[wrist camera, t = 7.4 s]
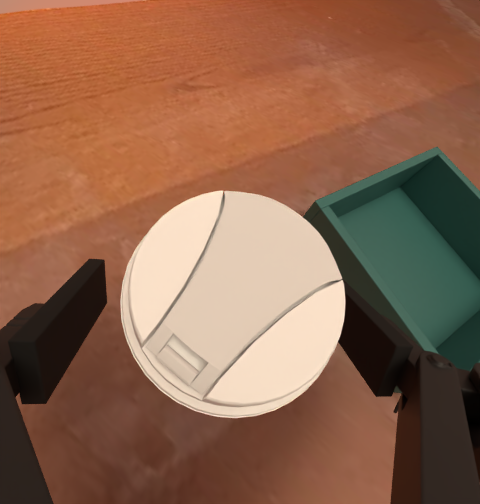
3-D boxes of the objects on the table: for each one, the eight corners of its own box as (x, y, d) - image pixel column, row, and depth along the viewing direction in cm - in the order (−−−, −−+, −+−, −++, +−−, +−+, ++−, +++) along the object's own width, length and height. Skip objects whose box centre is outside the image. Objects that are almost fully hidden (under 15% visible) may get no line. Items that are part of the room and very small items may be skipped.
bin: (287, 235, 26) (315, 200, 20) (393, 184, 31) (437, 146, 26) (392, 392, 22) (461, 400, 16) (493, 302, 27) (570, 286, 22)
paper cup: (216, 413, 19) (279, 503, 6) (135, 342, 20) (44, 296, 7) (276, 323, 22) (396, 264, 9) (204, 266, 23) (226, 141, 10)
